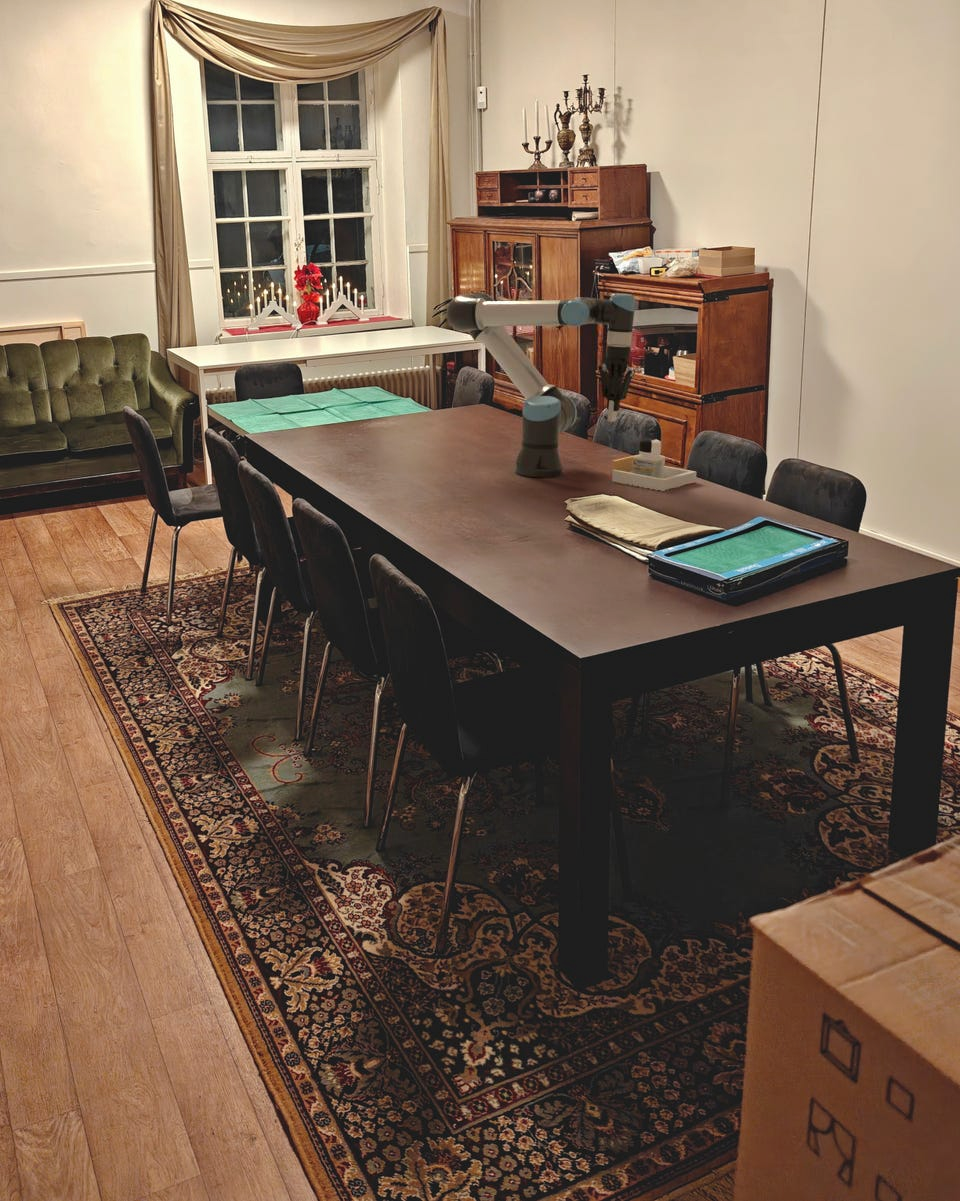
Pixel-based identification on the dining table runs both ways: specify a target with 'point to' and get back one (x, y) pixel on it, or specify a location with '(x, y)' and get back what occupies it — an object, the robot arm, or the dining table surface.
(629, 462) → the gate
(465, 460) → the dining table surface
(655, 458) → the container
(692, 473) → the c-shaped frame
